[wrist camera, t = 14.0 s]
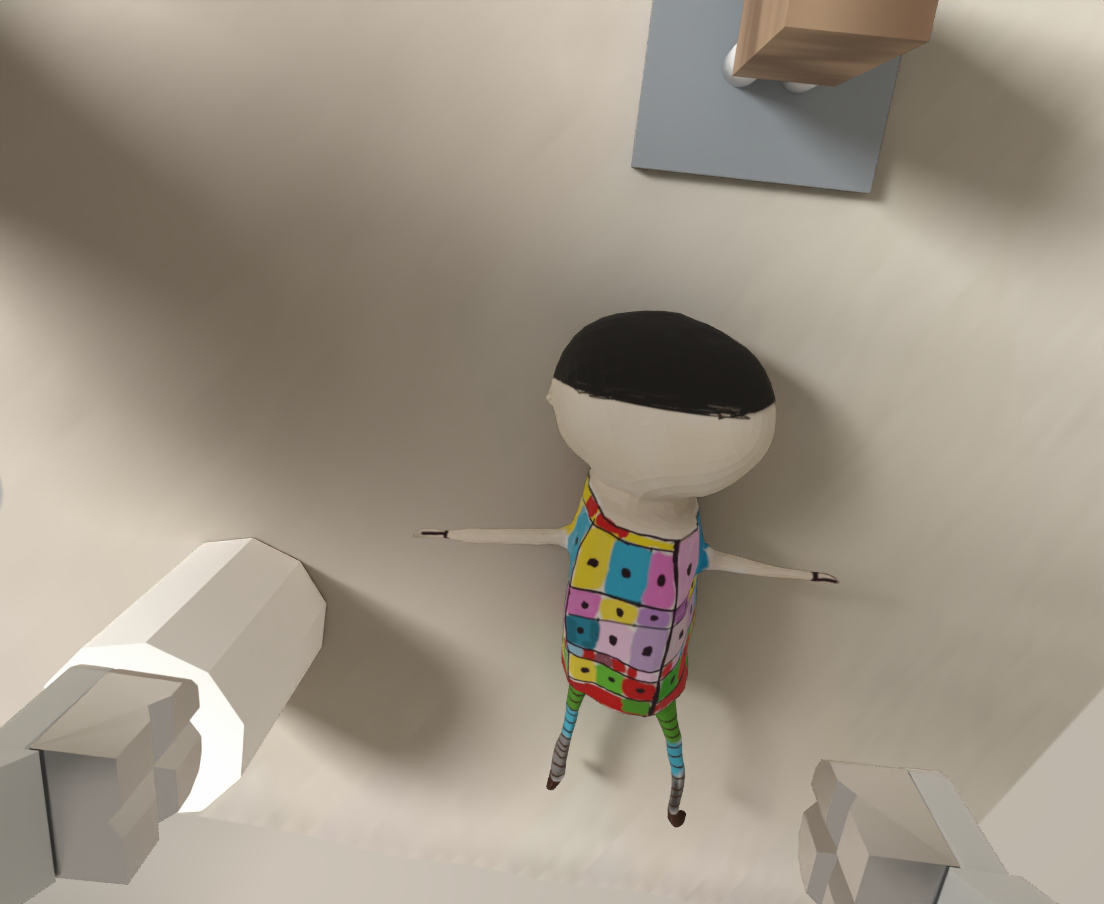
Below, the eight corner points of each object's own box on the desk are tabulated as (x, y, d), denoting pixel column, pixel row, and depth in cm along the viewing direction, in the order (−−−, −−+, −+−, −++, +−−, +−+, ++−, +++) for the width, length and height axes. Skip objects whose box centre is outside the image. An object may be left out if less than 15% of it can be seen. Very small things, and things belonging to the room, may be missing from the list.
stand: (631, 167, 40) (635, 162, 35) (673, -157, 35) (685, -213, 30) (863, 193, 39) (900, 192, 35) (935, -130, 35) (988, -182, 30)
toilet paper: (155, 537, 48) (16, 643, 36) (317, 536, 47) (227, 644, 36) (185, 677, 51) (65, 815, 40) (337, 677, 50) (260, 818, 39)
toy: (762, 765, 52) (876, 326, 40) (781, 880, 43) (932, 369, 32) (428, 707, 53) (450, 273, 42) (387, 807, 45) (399, 301, 34)
